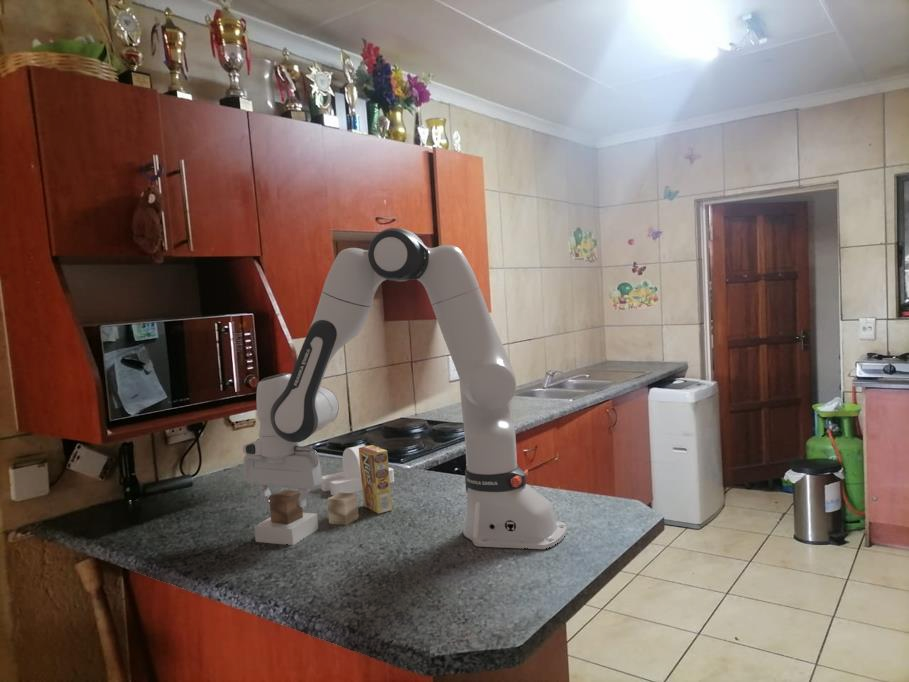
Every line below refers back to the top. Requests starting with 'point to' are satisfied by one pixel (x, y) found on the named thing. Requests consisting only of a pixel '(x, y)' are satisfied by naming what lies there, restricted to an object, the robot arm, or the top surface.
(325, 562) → the top surface
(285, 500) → the walnut block
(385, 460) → the candy box
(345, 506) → the beech block
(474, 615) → the top surface
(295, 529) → the stone slab
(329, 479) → the bracket
